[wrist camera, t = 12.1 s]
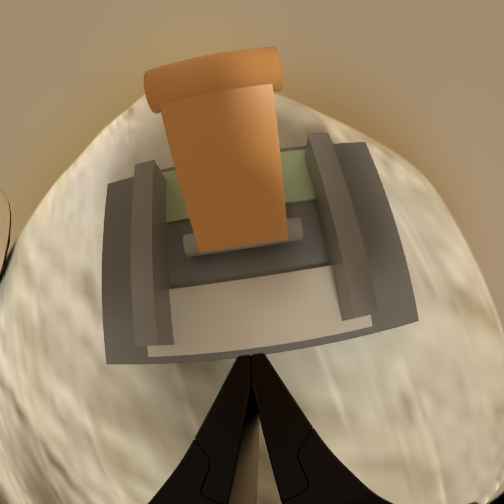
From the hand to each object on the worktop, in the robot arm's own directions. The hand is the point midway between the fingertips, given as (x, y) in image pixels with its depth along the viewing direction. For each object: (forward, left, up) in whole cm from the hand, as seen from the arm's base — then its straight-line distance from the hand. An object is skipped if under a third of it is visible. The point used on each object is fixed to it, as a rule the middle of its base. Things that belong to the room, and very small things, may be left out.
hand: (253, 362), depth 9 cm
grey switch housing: (+5, -2, -10) cm, 12 cm away
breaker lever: (+5, -2, -4) cm, 7 cm away
